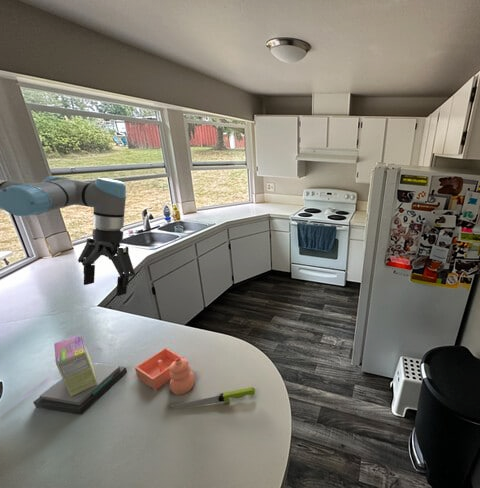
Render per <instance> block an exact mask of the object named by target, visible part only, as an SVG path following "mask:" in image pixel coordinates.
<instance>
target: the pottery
mask: <svg viewBox="0 0 480 488" xmlns="http://www.w3.org/2000/svg"><path fill="white" fill-rule="evenodd" d="M189 364H190V362H189V360H188V359H187V358H184V357H183V356H181V355H179V354H178V353H176V352H174V351H172V350H171V349H169V348H168V347H164V348H163V349H161V350H160V351H158V352H157V353H155V354H153V355H152V356H150V357H149V358H147V359H145V360H144V361H142V362H141V363H139V364H138V365H136V366H134V369H135V374H136V376H137V379H138V380H139V381H142V382H143V383H144V384H146V385H147V386H149V387H151V388H152V389H153V390H154V391H156V390H158V389H159V388H160V387H162V386H163V385H165V384H166V383H167V382H168V381H170V382H169V389H170V391H171V392H172V393H173V394H174V395H177V396H179V395H183V394H186V393H188V392H189V391H191V389H193V387H194V385H195V380H196V376H195V374H194V373H193V371H191V366H190V365H189Z"/></svg>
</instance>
